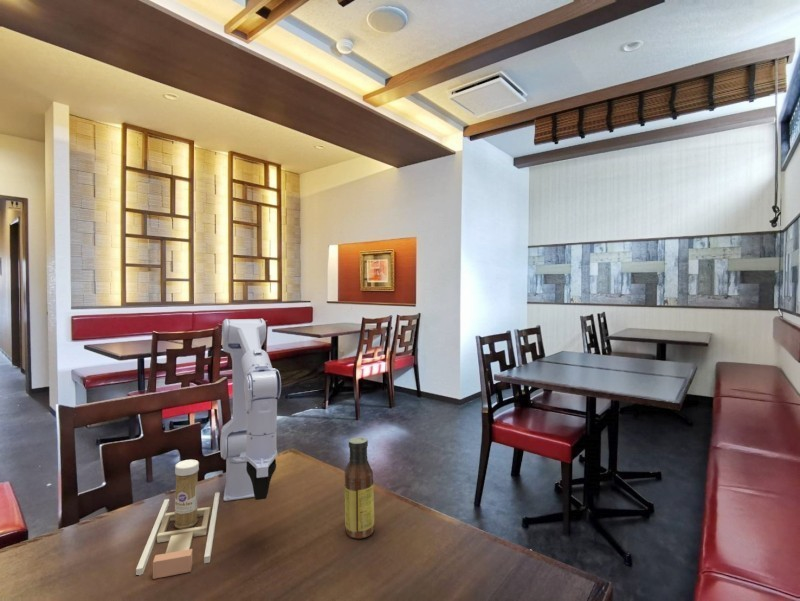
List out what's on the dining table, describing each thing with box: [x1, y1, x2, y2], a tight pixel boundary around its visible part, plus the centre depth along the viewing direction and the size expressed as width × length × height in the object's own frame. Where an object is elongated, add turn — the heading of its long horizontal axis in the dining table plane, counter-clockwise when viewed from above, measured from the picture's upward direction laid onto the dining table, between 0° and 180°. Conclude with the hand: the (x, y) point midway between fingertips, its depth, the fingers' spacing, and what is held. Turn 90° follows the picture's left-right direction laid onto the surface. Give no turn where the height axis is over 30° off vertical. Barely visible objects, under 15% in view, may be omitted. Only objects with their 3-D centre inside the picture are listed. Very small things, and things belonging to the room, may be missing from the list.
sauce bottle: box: [343, 436, 375, 539], centre depth 88 cm, size 7×6×20 cm
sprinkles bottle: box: [173, 459, 200, 530], centre depth 90 cm, size 5×5×14 cm
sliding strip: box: [152, 506, 211, 580], centre depth 83 cm, size 9×20×3 cm, turn 20°
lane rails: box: [135, 491, 221, 576], centre depth 87 cm, size 12×26×1 cm, turn 20°
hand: (260, 497), depth 83 cm, fingers closed
